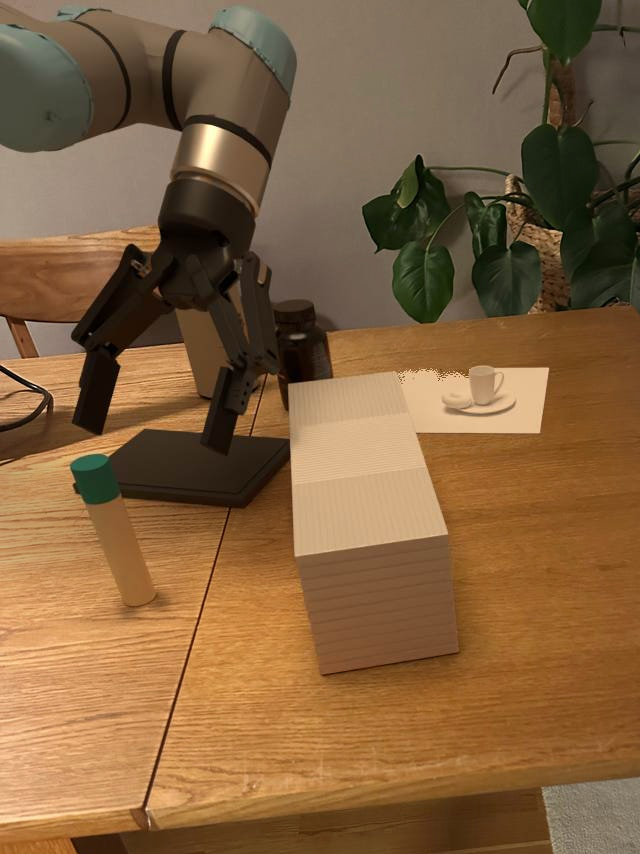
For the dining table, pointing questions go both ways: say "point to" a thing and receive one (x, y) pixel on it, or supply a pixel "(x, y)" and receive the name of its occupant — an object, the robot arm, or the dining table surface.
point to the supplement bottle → (300, 345)
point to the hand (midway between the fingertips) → (147, 440)
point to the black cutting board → (196, 468)
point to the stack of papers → (367, 526)
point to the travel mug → (207, 344)
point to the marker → (113, 527)
